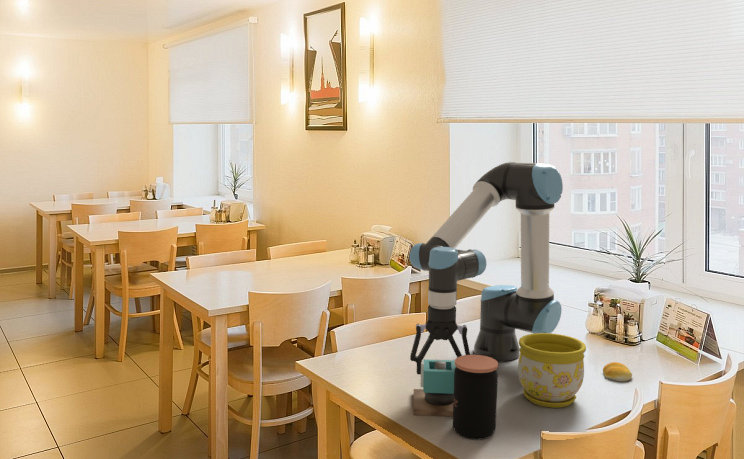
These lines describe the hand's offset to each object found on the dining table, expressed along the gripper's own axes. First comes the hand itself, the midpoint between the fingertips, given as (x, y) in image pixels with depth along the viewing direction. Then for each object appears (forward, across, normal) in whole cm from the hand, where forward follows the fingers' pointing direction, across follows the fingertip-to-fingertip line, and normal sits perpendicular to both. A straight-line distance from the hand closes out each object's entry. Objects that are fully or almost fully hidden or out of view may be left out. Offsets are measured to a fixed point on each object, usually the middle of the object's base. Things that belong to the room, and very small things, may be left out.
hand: (439, 385), depth 179 cm
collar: (0, 0, 0) cm, 0 cm away
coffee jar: (+6, -8, +15) cm, 18 cm away
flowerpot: (+6, -31, -7) cm, 32 cm away
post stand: (+5, 0, 0) cm, 5 cm away
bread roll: (+6, -56, -27) cm, 62 cm away
